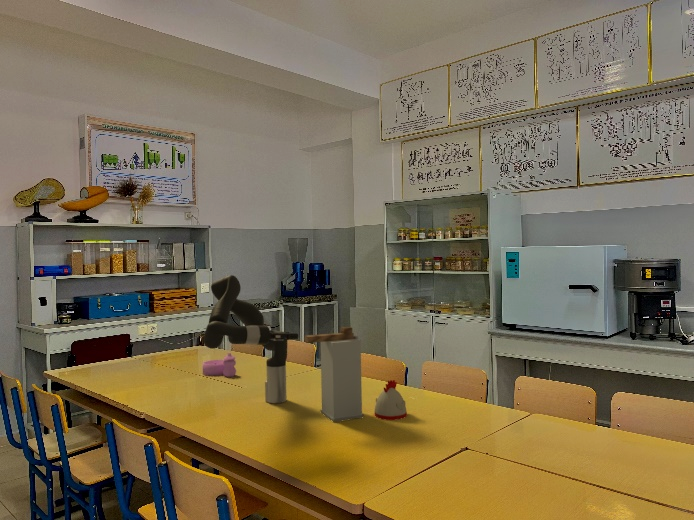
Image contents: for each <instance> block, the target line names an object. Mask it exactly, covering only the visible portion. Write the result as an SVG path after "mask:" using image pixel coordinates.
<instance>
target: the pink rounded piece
mask: <svg viewBox="0 0 694 520" xmlns="http://www.w3.org/2000/svg"><path fill="white" fill-rule="evenodd" d="M236 363H237V362H236V356H234V355H232V352H228V353H227V355H226V356H224V357H223V359H212V360H210V359H209V360H206V361H202V375H204V376H210V377H212V376H213V377H214V376H222V375H223V376H225V377H226V378H231V377H234V376H235V375H236V374H237V369H236V367H235V366H236Z"/></svg>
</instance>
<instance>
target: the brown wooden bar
mask: <svg viewBox="0 0 694 520" xmlns="http://www.w3.org/2000/svg"><path fill="white" fill-rule="evenodd" d="M354 335H355V334H354V332H353V327H351V326H342V327H341V326H340V332H335V333H334V332H333V333H332V332H331V333H321V334H310V335H308V334H307V335H304V342H305V343H307V344H311V343H312V344H313V343H321V342H325V341H336V340H348V339H354Z"/></svg>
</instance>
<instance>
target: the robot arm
mask: <svg viewBox="0 0 694 520" xmlns="http://www.w3.org/2000/svg"><path fill="white" fill-rule="evenodd" d="M241 287H242V286H241V283H240V281H239V279H238V278H237V277H236V276H235V275H232V274H229V275H227V276H224V277H222V278H219V279H217V280H215V281H213V282H212V284H211V286H210V288H211V289H210V290H211V293H212V294H213V297H215V299H216V300H217V302H216V303H215V304H214V306H213V307H212V309H211V312H210V315H209V319H208V323H207V325H206V327H205V331H204V335H203V341H202V342H203V344H204V345H205V346H206V347H207V348H208V349H214V350H215V349H217V348H219V347H220V346H221V345H222V342H223V340H224V336H225V337H227V338H228V342H229V343H230V344H231V345H232V344H233V345H250V346H252V345H253V346H256V345H257V346H262V347H263V348H264V349H265V350H267V351H271V352H273V356H272V357H269V358H267V359H266V380H265V382H264V391H265V392H264V394H265V395H264V396H265V402H266V403H267V402H268V403H269V404H281V403H285V402H287V359H288V341H290V340H298V339H299V333H291V332H290V331H279V330H276V329H275V330H274V329H271V330H270V328H269V326H268V325H265V324H264V322H265V319H264V314H263V313H262V312H261V311H260V310H259V309H258V307H257V306H256V305H254V304H253V303H251V302H247V301H246V300H245V301H244V300H240V299H238V296H239V295H240V294H241V289H242V288H241ZM231 312H232V313H233V314H234V315H235V316H236V318H238V320H239V321H240V322H241V323H242V324H243V325H234V324H231V323H228V321H229V316H230V313H231Z"/></svg>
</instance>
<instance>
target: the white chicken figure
mask: <svg viewBox="0 0 694 520" xmlns="http://www.w3.org/2000/svg"><path fill="white" fill-rule="evenodd" d="M397 384H398V382H397V381H395V379H392V380H387V383H385V387H383V390H382V391H381V392H380V393H379V395H378V396H377V398H375V405H374V417H375V416H376V417H375V418H377V417H378V418H377V419H379V418H381V419H380V420H384V419H386V420H385V421H396V420H395V419H398V420H401V418H402V419H404V417H405V418H406V417H407V416H408V415H407V413H408V412H407V406H406V401H405V400H404V398H403V396H402V395H401V393H400V392H399V391H398V390H397V389H396V388H397ZM406 415H407V416H406Z"/></svg>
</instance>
